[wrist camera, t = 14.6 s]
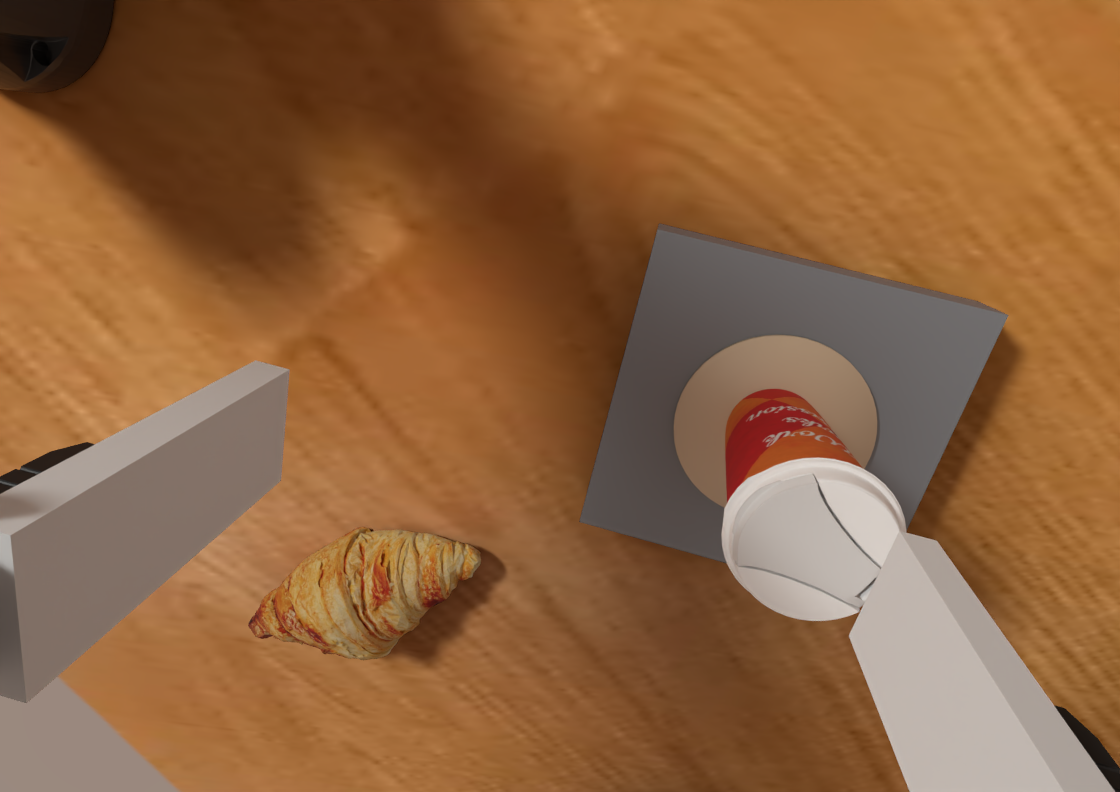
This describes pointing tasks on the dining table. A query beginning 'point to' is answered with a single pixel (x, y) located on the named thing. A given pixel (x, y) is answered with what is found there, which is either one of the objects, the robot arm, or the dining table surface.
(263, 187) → the dining table surface
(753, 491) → the paper cup
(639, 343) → the plinth
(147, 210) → the dining table surface
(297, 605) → the croissant
